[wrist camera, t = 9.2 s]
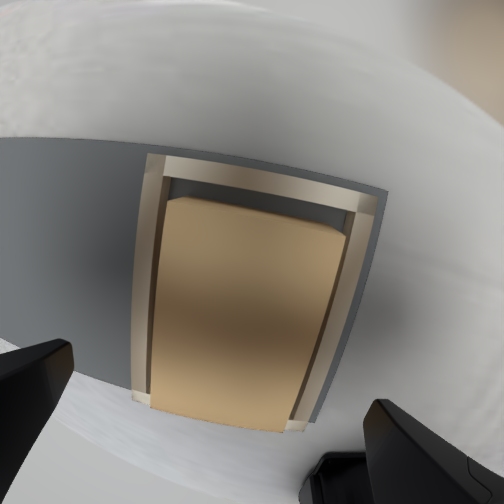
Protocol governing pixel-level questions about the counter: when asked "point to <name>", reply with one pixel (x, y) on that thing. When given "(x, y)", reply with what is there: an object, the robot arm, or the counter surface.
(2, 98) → the counter surface
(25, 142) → the mat
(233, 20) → the counter surface
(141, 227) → the frame
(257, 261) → the tile
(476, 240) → the counter surface
